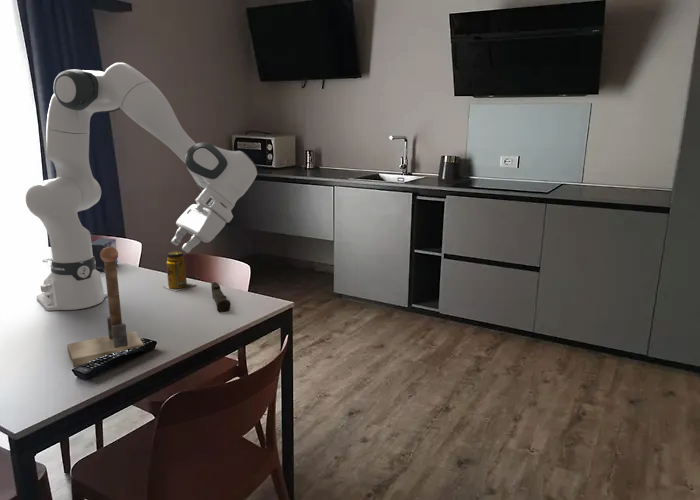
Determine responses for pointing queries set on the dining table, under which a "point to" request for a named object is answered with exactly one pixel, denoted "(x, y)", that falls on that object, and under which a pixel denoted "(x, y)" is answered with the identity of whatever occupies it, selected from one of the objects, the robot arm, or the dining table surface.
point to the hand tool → (220, 298)
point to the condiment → (176, 272)
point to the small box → (97, 249)
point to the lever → (112, 284)
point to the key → (48, 261)
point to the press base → (104, 344)
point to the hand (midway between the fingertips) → (178, 247)
